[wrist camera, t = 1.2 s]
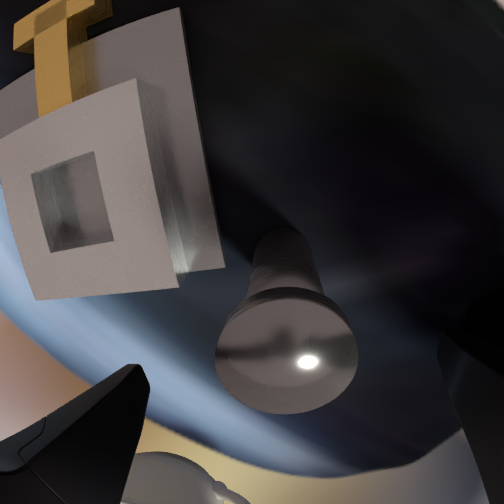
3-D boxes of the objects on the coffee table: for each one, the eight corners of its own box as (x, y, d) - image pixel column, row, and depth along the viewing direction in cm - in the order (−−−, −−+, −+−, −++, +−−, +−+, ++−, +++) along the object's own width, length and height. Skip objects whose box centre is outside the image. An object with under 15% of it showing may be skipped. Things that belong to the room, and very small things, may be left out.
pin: (316, 213, 16) (358, 293, 8) (324, 285, 17) (356, 405, 9) (238, 224, 17) (199, 313, 8) (251, 294, 18) (230, 417, 9)
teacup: (145, 487, 27) (126, 542, 20) (102, 428, 24) (68, 493, 16) (269, 495, 26) (265, 560, 18) (252, 437, 22) (243, 524, 15)
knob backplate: (176, -33, 12) (162, -53, 10) (227, 263, 17) (219, 282, 15) (-3, 56, 14) (-27, 53, 11) (38, 286, 19) (17, 301, 17)
